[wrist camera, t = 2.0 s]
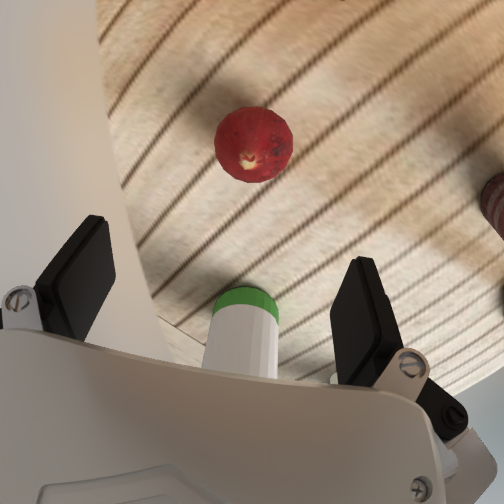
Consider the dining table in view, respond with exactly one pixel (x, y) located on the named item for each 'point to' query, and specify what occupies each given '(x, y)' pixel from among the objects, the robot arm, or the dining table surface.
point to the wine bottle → (243, 334)
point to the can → (494, 203)
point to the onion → (253, 144)
